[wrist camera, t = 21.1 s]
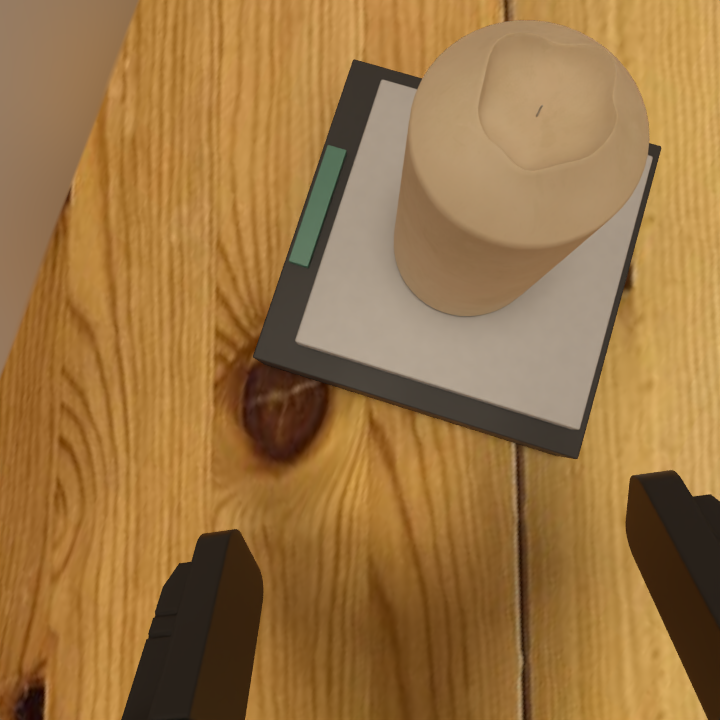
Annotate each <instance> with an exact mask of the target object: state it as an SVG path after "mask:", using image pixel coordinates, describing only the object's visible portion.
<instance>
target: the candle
mask: <svg viewBox="0 0 720 720" xmlns="http://www.w3.org/2000/svg"><path fill="white" fill-rule="evenodd" d="M648 149H649V123H648V118H647V112H646V108H645V105H644V102H643V99H642V96H641V94H640V92H639V90H638V88H637V86H636V83H635V82H634V80H633V79H632V77H631V75H630V74H629V72H628V71H627V69H626V68H625V67H624V66H623V65H622V64H621V62H620V61H619V60H618V59H617V58H616V57H615V56H614V55H613V54H612V53H611V52H609V51H608V50H607V49H606V48H605V47H604V46H602V45H601V44H599V43H598V42H596V41H595V40H594V39H592V38H590V37H588V36H586V35H584V34H583V33H581V32H579V31H576V30H573V29H571V28H568V27H566V26H562V25H558V24H554V23H550V22H543V21H535V20H518V21H509V22H502V23H498V24H494V25H490V26H487V27H484V28H481V29H479V30H476V31H474V32H472V33H470V34H468V35H466V36H464V37H463V38H461V39H459V40H458V41H457V42H455V43H454V44H452V45H451V46H450V47H448V48H447V49H446V50H445V51H444V52H443V53H442V54H441V55H440V56H439V57H438V58H437V59H436V60H435V61H434V63H433V64H432V65H431V66H430V67H429V69H428V71H427V72H426V74H425V75H424V77H423V78H422V80H421V82H420V84H419V87H418V89H417V91H416V93H415V97H414V100H413V103H412V107H411V113H410V119H409V126H408V133H407V140H406V148H405V155H404V163H403V170H402V178H401V185H400V192H399V200H398V207H397V215H396V222H395V230H394V254H395V259H396V263H397V266H398V269H399V271H400V274H401V276H402V278H403V280H404V281H405V283H406V285H407V286H408V287H409V288H410V290H411V291H412V292H413V293H414V294H415V295H416V296H417V297H418V298H419V299H420V300H422V301H423V302H424V303H425V304H427V305H429V306H430V307H432V308H434V309H436V310H439V311H441V312H444V313H447V314H451V315H457V316H477V315H483V314H487V313H491V312H494V311H497V310H499V309H501V308H503V307H505V306H507V305H508V304H510V303H511V302H513V301H514V300H515V299H517V298H518V297H519V296H521V295H522V294H523V293H524V292H526V291H527V290H528V289H529V288H530V287H531V286H533V285H534V284H535V283H536V282H537V281H538V280H540V279H541V278H542V277H543V276H544V275H546V274H547V273H548V272H549V271H550V270H551V269H553V268H554V267H555V266H556V265H557V264H558V263H560V262H561V261H562V260H563V259H564V258H566V257H567V256H568V255H569V254H570V253H571V252H573V251H574V250H575V249H576V248H577V247H578V246H580V245H581V244H582V243H583V242H584V241H585V240H587V239H588V238H589V237H590V236H591V235H593V234H594V233H595V232H596V231H597V230H598V229H600V228H601V227H602V226H603V225H604V224H605V223H607V222H608V221H609V220H610V219H611V218H612V217H613V216H614V215H615V214H616V213H617V212H618V211H619V210H620V209H621V208H622V207H623V206H624V205H625V203H626V202H627V201H628V200H629V198H630V197H631V196H632V194H633V192H634V190H635V189H636V187H637V185H638V183H639V181H640V179H641V176H642V174H643V171H644V168H645V164H646V160H647V156H648Z"/></svg>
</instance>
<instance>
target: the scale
mask: <svg viewBox="0 0 720 720" xmlns="http://www.w3.org/2000/svg"><path fill="white" fill-rule="evenodd" d="M421 80H422V79H421V78H418V77H414V76H411V75H407V74H404V73H400V72H397V71H393V70H390V69H386V68H383V67H379V66H376V65H372V64H369V63H365V62H362V61H358V60H353V62H352V65H351V68H350V71H349V74H348V77H347V80H346V83H345V86H344V89H343V92H342V95H341V97H340V100H339V103H338V106H337V109H336V112H335V115H334V118H333V121H332V124H331V127H330V130H329V133H328V136H327V139H326V142H325V145H324V148H323V151H322V154H321V157H320V160H319V163H318V166H317V169H316V171H315V174H314V177H313V180H312V183H311V186H310V189H309V192H308V195H307V198H306V201H305V204H304V207H303V210H302V213H301V216H300V219H299V222H298V225H297V228H296V231H295V234H294V237H293V240H292V243H291V245H290V248H289V251H288V254H287V257H286V260H285V263H284V266H283V269H282V272H281V275H280V278H279V281H278V284H277V287H276V290H275V293H274V296H273V299H272V302H271V305H270V308H269V311H268V314H267V317H266V319H265V322H264V325H263V328H262V331H261V334H260V337H259V340H258V343H257V346H256V349H255V352H254V355H253V357H254V358H255V359H257V360H258V361H260V362H262V363H263V364H265V365H269V366H272V367H275V368H278V369H281V370H285V371H288V372H291V373H294V374H297V375H300V376H304V377H307V378H310V379H313V380H316V381H320V382H323V383H326V384H329V385H332V386H336V387H339V388H342V389H345V390H348V391H351V392H355V393H358V394H361V395H364V396H367V397H371V398H374V399H377V400H380V401H383V402H386V403H390V404H393V405H396V406H399V407H402V408H406V409H409V410H412V411H415V412H418V413H421V414H425V415H428V416H431V417H434V418H437V419H441V420H444V421H447V422H450V423H453V424H457V425H460V426H463V427H466V428H469V429H472V430H476V431H479V432H482V433H485V434H488V435H492V436H495V437H498V438H501V439H504V440H507V441H511V442H514V443H517V444H520V445H523V446H527V447H530V448H533V449H536V450H539V451H542V452H546V453H549V454H552V455H555V456H561V457H567V458H573V459H578V456H579V452H580V449H581V445H582V441H583V438H584V434H585V430H586V426H587V423H588V419H589V415H590V412H591V408H592V404H593V400H594V397H595V393H596V389H597V386H598V382H599V378H600V374H601V371H602V367H603V363H604V359H605V356H606V352H607V348H608V345H609V341H610V337H611V333H612V330H613V326H614V322H615V319H616V315H617V311H618V307H619V304H620V300H621V296H622V292H623V289H624V285H625V281H626V278H627V274H628V270H629V266H630V263H631V259H632V255H633V252H634V248H635V244H636V240H637V237H638V233H639V229H640V225H641V222H642V218H643V214H644V211H645V207H646V203H647V199H648V196H649V192H650V188H651V185H652V181H653V177H654V173H655V170H656V166H657V162H658V158H659V155H660V151H661V146H657V145H654V144H650V143H649V149H648V156H647V160H646V164H645V168H644V171H643V174H642V176H641V179H640V181H639V183H638V185H637V187H636V189H635V190H634V192H633V194H632V196H631V197H630V198H629V200H628V201H627V202H626V203H625V205H624V206H623V207H622V208H621V209H620V210H619V211H618V212H617V213H616V214H615V215H614V216H613V217H612V218H611V219H610V220H609V221H608V222H607V223H605V224H604V225H603V226H602V227H601V228H600V229H598V230H597V231H596V232H595V233H594V234H593V235H591V236H590V237H589V238H588V239H587V240H585V241H584V242H583V243H582V244H581V245H580V246H578V247H577V248H576V249H575V250H574V251H573V252H571V253H570V254H569V255H568V256H567V257H566V258H564V259H563V260H562V261H561V262H560V263H558V264H557V265H556V266H555V267H554V268H553V269H551V270H550V271H549V272H548V273H547V274H546V275H544V276H543V277H542V278H541V279H540V280H538V281H537V282H536V283H535V284H534V285H533V286H531V287H530V288H529V289H528V290H527V291H526V292H524V293H523V294H522V295H521V296H519V297H518V298H517V299H515V300H514V301H513V302H511V303H510V304H508V305H507V306H505V307H503V308H501V309H499V310H497V311H494V312H491V313H487V314H483V315H477V316H457V315H451V314H447V313H444V312H441V311H439V310H436V309H434V308H432V307H430V306H429V305H427V304H425V303H424V302H423V301H422V300H420V299H419V298H418V297H417V296H416V295H415V294H414V293H413V292H412V291H411V290H410V288H409V287H408V286H407V285H406V283H405V281H404V280H403V278H402V276H401V274H400V271H399V269H398V266H397V263H396V259H395V254H394V230H395V222H396V215H397V207H398V200H399V192H400V185H401V178H402V170H403V163H404V155H405V148H406V140H407V133H408V126H409V119H410V113H411V107H412V103H413V100H414V97H415V93H416V91H417V89H418V87H419V84H420V82H421Z"/></svg>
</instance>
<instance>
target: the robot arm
mask: <svg viewBox="0 0 720 720" xmlns="http://www.w3.org/2000/svg"><path fill="white" fill-rule="evenodd" d="M626 534H627V539H628V543H629V546H630V550H631V552H632V555H633V557H634V559H635V562H636V564H637V566H638V568H639V570H640V572H641V575H642V577H643V579H644V581H645V583H646V585H647V588H648V590H649V592H650V594H651V596H652V599H653V601H654V603H655V605H656V607H657V609H658V612H659V614H660V616H661V618H662V620H663V622H664V625H665V627H666V629H667V631H668V633H669V636H670V638H671V640H672V642H673V644H674V646H675V649H676V651H677V653H678V655H679V657H680V659H681V662H682V664H683V666H684V668H685V670H686V673H687V675H688V677H689V679H690V681H691V683H692V686H693V688H694V690H695V692H696V694H697V696H698V699H699V701H700V703H701V705H702V707H703V710H704V712H705V714H706V716H707V718H708V720H720V501H718V500H717V499H716V498H715V497H713V496H712V495H711V494H710V495H702V496H695V497H692V495H691V493H690V492H689V490H688V489H687V487H686V485H685V484H684V482H683V481H682V479H681V478H680V476H679V475H678V474H677V473H676V472H675V471H673V470H669V471H662V472H654V473H647V474H640V475H633V476H631V478H630V483H629V493H628V503H627V514H626ZM262 603H263V580H262V575H261V572H260V569H259V567H258V565H257V563H256V561H255V559H254V557H253V555H252V554H251V552H250V550H249V548H248V546H247V544H246V542H245V540H244V538H243V536H242V534H241V533H240V531H239V530H237V529H234V530H227V531H219V532H212V533H205V534H202V535H201V536H200V537H199V539H198V541H197V544H196V547H195V551H194V554H193V558H192V562H187V563H179V565H178V566H177V567H176V569H175V570H174V572H173V573H172V575H171V576H170V578H169V579H168V580H167V582H166V583H165V585H164V586H163V589H162V592H161V595H160V598H159V601H158V604H157V608H156V611H155V618H153V620H152V624H151V627H150V630H149V633H148V634H149V638H148V639H147V640H146V643H145V646H144V649H143V652H142V656H141V659H140V662H139V665H138V668H137V672H136V675H135V678H134V681H133V684H132V687H131V691H130V694H129V697H128V700H127V703H126V707H125V710H124V713H123V716H122V719H121V720H245V716H246V709H247V702H248V696H249V689H250V682H251V676H252V669H253V663H254V656H255V649H256V643H257V636H258V629H259V623H260V616H261V609H262Z"/></svg>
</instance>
